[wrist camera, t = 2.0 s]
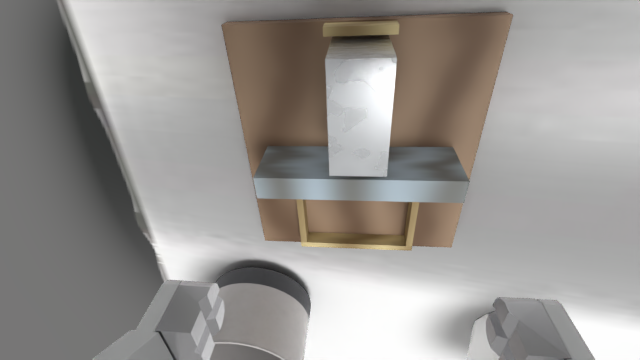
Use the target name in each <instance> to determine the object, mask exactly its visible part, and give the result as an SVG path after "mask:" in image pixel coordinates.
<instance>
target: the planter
mask: <svg viewBox="0 0 640 360" xmlns="http://www.w3.org/2000/svg"><path fill="white" fill-rule="evenodd" d="M216 283H217V284H218V287H219V290H220V291H219V293H218V296H219V297H221V298H222V299H223V302H224V309H225V312H224V318H223V323H222V326H221V329H220V331H219V332H218V333H216V334H215V335H214V336H213V337H212V338H213V341H214V344H215V346H214V349H213V351H212V354H211V357H210V360H304V353H305V345H306V338H307V330H308V323H309V315H310V308H311V302H310V298H309V296H308V294H307V292H306V291H305V290H304V288H303V287H302V286H301V285H300V284H298V283H297V282H296V281H295V280H293V279H291V278H290V277H288V276H286V275H284V274H281V273H279V272H276V271H273V270H269V269H264V268H240V269H235V270H232V271H229V272H227V273H225V274H224V275H222V276H221V277H220V278H219V279H218V280H217V281H216Z"/></svg>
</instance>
